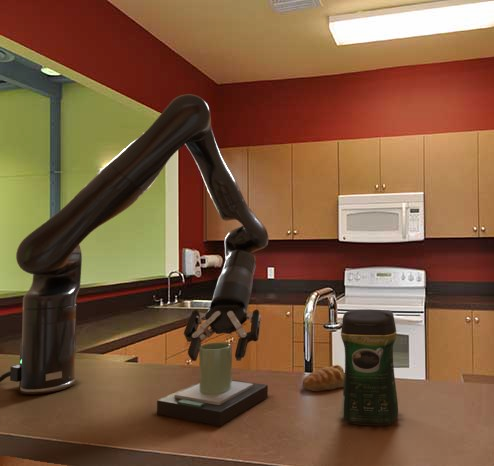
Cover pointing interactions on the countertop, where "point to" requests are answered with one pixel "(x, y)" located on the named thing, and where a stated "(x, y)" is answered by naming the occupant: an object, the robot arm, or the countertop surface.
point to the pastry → (325, 378)
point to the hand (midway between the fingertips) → (215, 358)
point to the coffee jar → (369, 367)
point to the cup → (215, 368)
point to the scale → (212, 403)
